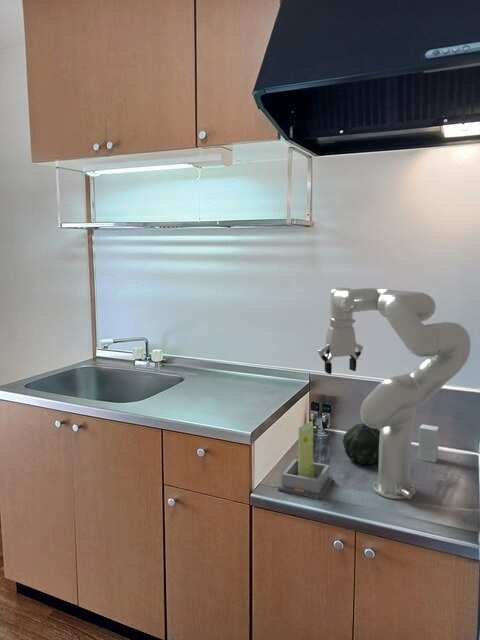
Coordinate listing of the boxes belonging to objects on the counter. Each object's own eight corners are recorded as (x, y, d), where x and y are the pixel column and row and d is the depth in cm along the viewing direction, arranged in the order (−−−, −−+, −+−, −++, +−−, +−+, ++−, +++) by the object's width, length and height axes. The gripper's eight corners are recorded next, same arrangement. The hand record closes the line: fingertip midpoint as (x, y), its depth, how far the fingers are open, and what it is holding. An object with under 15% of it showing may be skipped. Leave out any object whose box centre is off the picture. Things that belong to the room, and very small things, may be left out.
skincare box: (438, 458, 178) (439, 426, 176) (435, 463, 175) (437, 430, 173) (420, 455, 181) (421, 423, 179) (417, 459, 178) (418, 427, 176)
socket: (333, 479, 164) (333, 464, 163) (320, 499, 152) (321, 483, 151) (292, 471, 170) (292, 457, 169) (278, 490, 158) (277, 474, 157)
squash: (362, 432, 190) (348, 410, 181) (398, 444, 179) (385, 422, 170) (345, 463, 184) (329, 443, 176) (380, 478, 174) (366, 457, 165)
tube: (314, 485, 158) (315, 426, 155) (298, 485, 158) (298, 427, 155) (312, 477, 163) (312, 420, 160) (297, 477, 163) (297, 420, 160)
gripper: (356, 320, 178) (355, 366, 181) (313, 323, 172) (313, 371, 175) (368, 323, 171) (367, 371, 174) (324, 327, 165) (323, 377, 168)
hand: (340, 371), depth 174 cm, fingers open, 9 cm apart
